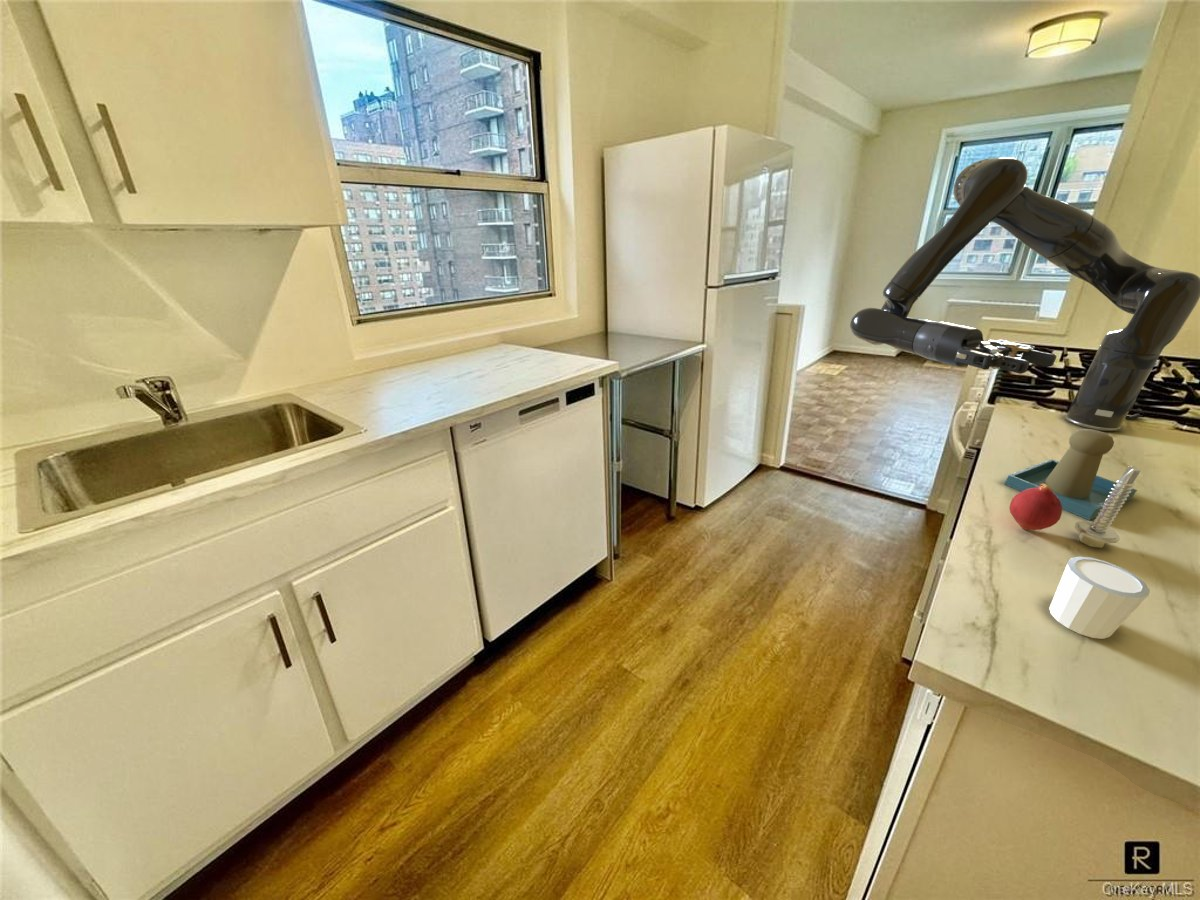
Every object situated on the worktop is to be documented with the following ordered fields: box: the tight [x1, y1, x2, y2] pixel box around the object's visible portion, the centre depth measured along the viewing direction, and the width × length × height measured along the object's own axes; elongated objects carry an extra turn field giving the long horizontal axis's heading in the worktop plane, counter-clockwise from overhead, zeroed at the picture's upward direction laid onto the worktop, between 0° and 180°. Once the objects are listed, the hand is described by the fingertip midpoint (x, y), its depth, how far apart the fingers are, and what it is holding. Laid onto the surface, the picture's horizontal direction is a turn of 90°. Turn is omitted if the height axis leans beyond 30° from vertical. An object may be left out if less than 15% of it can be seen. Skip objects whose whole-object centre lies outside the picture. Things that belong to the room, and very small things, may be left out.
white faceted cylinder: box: [1048, 556, 1151, 640], centre depth 56 cm, size 7×7×7 cm
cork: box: [1044, 428, 1115, 499], centre depth 81 cm, size 6×6×11 cm
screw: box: [1073, 465, 1141, 548], centre depth 68 cm, size 13×5×5 cm
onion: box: [1009, 484, 1063, 531], centre depth 72 cm, size 6×6×8 cm
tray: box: [1004, 458, 1137, 521], centre depth 83 cm, size 14×12×2 cm
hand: (1040, 364), depth 84 cm, fingers open, 8 cm apart
